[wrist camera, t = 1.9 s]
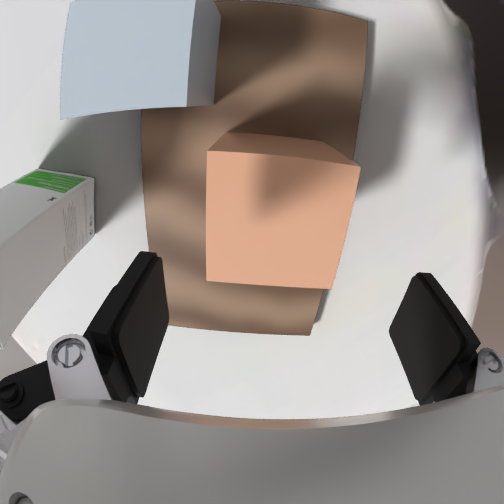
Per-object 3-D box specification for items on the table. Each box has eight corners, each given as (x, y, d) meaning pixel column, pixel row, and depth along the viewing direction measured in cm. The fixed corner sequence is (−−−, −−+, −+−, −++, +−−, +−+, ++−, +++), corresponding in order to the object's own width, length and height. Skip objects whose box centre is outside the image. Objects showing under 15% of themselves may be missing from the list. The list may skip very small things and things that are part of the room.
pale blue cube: (129, 26, 14) (70, 2, 7) (221, 16, 14) (199, -28, 7) (123, 108, 17) (60, 119, 10) (213, 104, 17) (186, 106, 11)
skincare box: (97, 177, 22) (-30, 275, 8) (96, 239, 25) (7, 355, 11) (35, 167, 21) (-80, 241, 7) (38, 223, 24) (-52, 312, 10)
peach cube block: (226, 132, 18) (207, 150, 12) (323, 141, 19) (360, 167, 12) (222, 220, 22) (206, 280, 15) (309, 227, 22) (331, 289, 15)
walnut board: (156, 11, 14) (149, 6, 13) (361, 25, 15) (367, 21, 13) (164, 314, 30) (160, 324, 28) (308, 325, 30) (309, 335, 29)
